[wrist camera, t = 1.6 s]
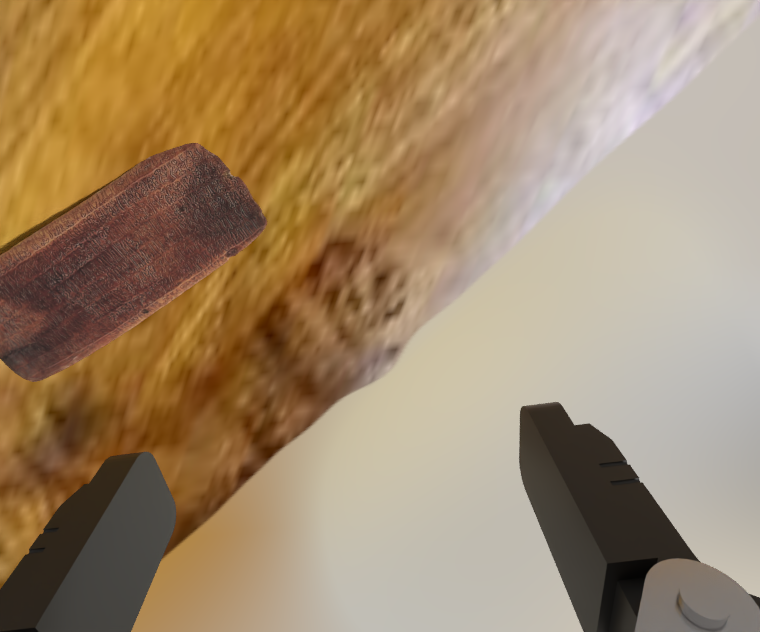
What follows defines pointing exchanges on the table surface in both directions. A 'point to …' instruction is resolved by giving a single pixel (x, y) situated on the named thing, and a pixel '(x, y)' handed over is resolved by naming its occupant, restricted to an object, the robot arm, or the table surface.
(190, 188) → the wooden tablet
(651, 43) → the table surface
